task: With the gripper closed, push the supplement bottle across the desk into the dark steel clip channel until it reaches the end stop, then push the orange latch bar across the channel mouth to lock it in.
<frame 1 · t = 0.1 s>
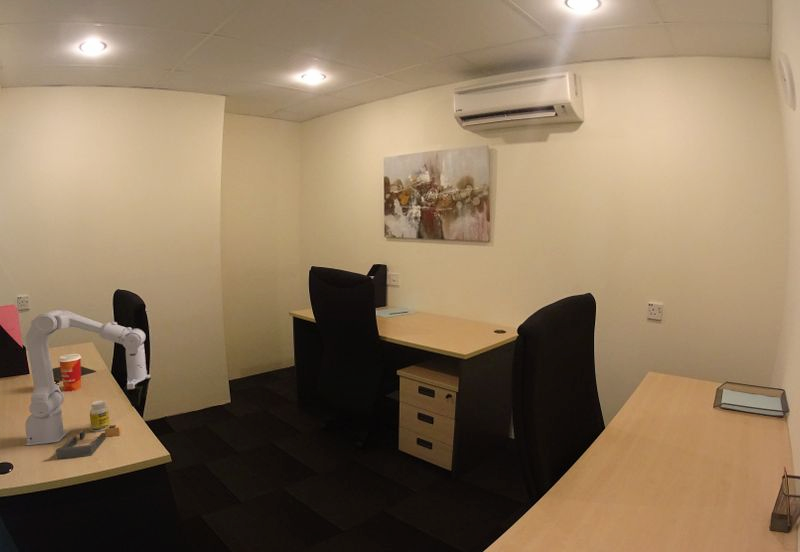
hand: (139, 401, 158), 10 cm above the table, tool pointing down, fingers open, 7 cm apart
rail clip: (84, 446, 146), on the table
supplement bottle: (100, 429, 159), on the table
hardcover book: (66, 376, 215), on the table
coffee cup: (73, 389, 198), on the table
latch: (112, 430, 154), point 2 cm above the table, slide at 0.0 cm
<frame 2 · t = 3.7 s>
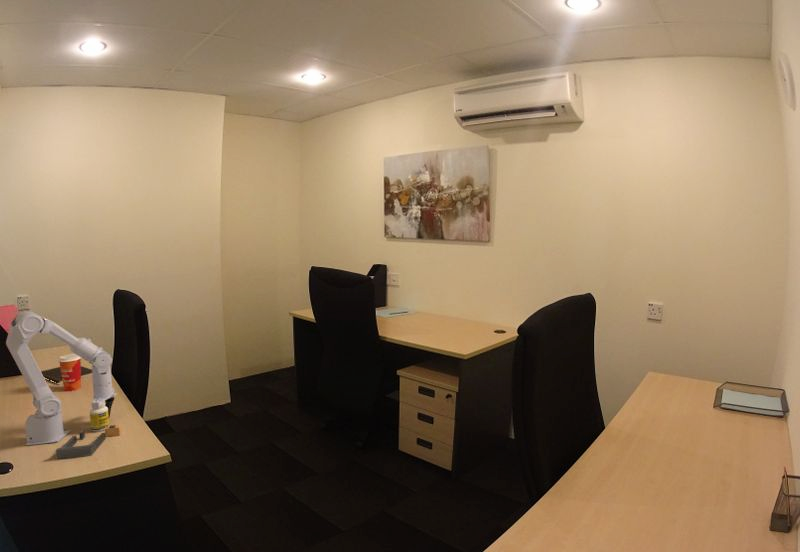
hand: (105, 419, 164), 1 cm above the table, tool pointing down, fingers closed
supplement bottle: (100, 429, 159), on the table, touching gripper
everything else where it was.
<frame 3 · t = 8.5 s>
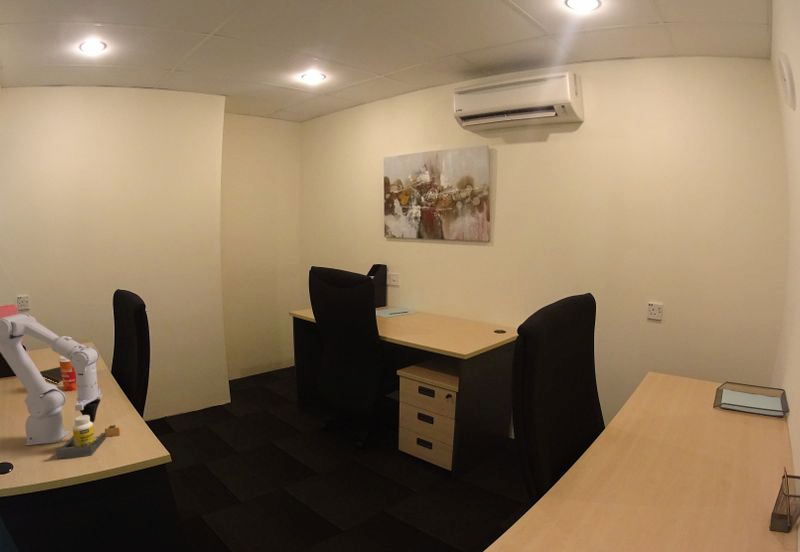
hand: (90, 422, 152), 6 cm above the table, tool pointing down, fingers closed
supplement bottle: (84, 446, 147), on the table
everything else where it was.
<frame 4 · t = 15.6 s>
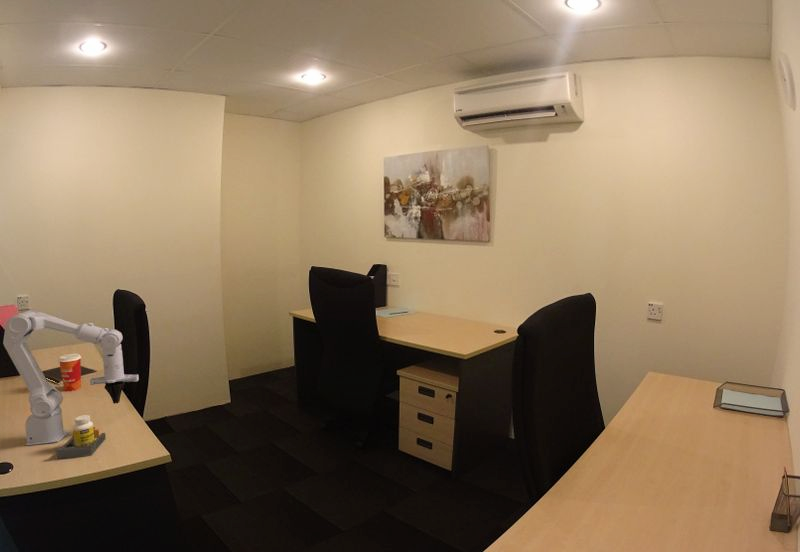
hand: (116, 402, 157), 10 cm above the table, tool pointing down, fingers closed
latch: (92, 432, 152), point 2 cm above the table, slide at 6.2 cm
everything else where it was.
at the end: supplement bottle inside the target area on the rail clip (2.2 cm from its centre), point 0.0 cm above the rail clip's base; supplement bottle tilted 0°; latch slide at 6.2 cm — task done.
